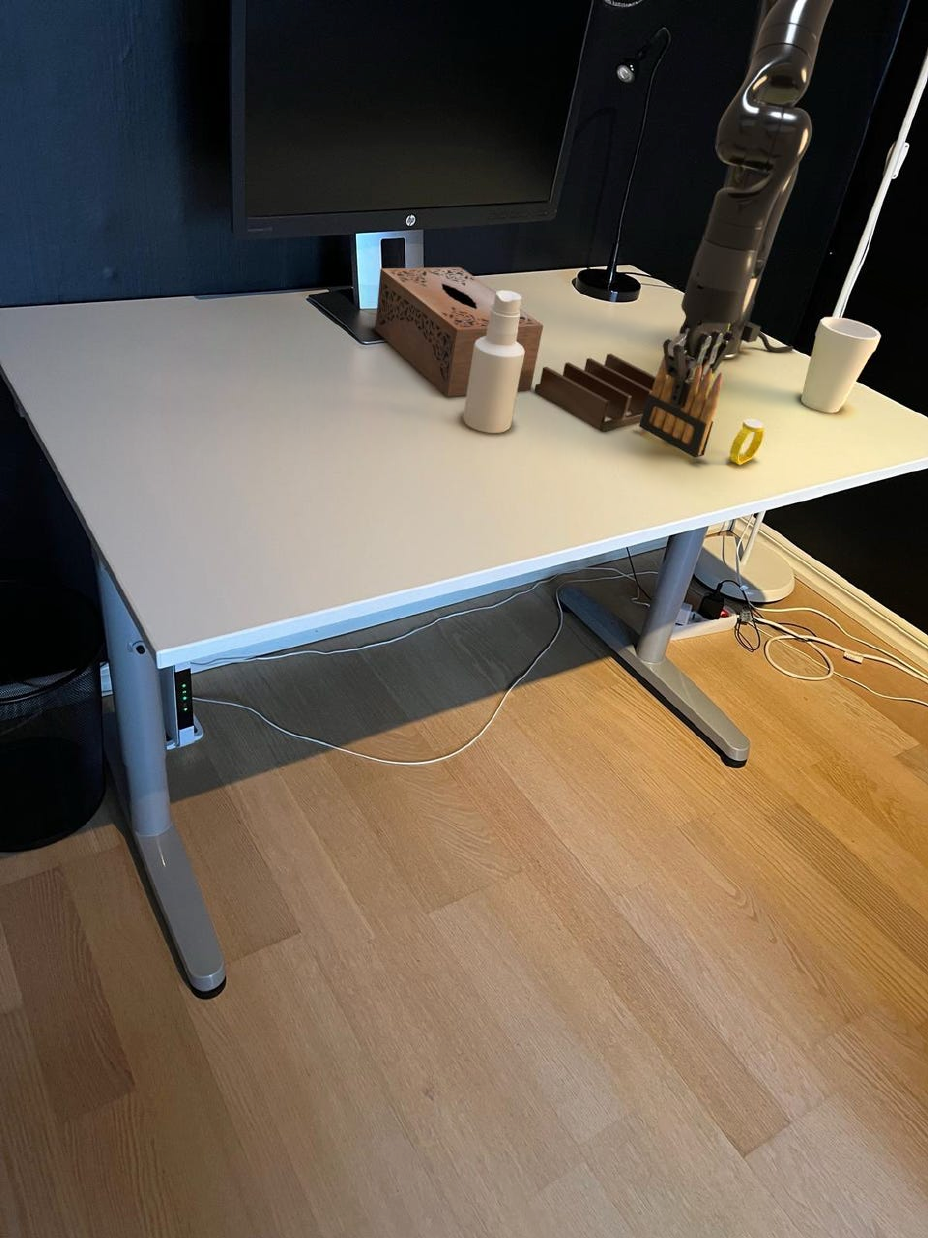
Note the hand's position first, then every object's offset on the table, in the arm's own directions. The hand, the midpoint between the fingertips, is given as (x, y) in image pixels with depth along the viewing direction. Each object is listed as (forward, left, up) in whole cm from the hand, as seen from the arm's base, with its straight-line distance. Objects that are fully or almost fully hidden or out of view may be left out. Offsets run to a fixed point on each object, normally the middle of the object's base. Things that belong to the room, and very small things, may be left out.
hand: (681, 404), depth 129 cm
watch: (-7, +8, -7) cm, 12 cm away
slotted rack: (-2, -15, -7) cm, 16 cm away
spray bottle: (+20, -17, -7) cm, 27 cm away
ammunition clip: (0, 0, -6) cm, 6 cm away
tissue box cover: (+10, -37, -7) cm, 39 cm away
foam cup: (-39, +1, -7) cm, 40 cm away
